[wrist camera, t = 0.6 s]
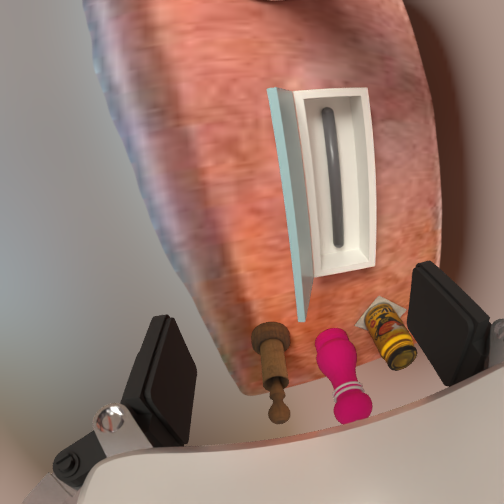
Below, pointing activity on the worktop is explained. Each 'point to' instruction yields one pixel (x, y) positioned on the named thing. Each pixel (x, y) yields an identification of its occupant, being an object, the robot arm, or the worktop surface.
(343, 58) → the worktop surface
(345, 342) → the pepper mill
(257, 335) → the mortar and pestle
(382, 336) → the condiment
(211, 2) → the worktop surface
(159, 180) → the worktop surface
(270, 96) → the cover
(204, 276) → the worktop surface
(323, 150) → the white open box
